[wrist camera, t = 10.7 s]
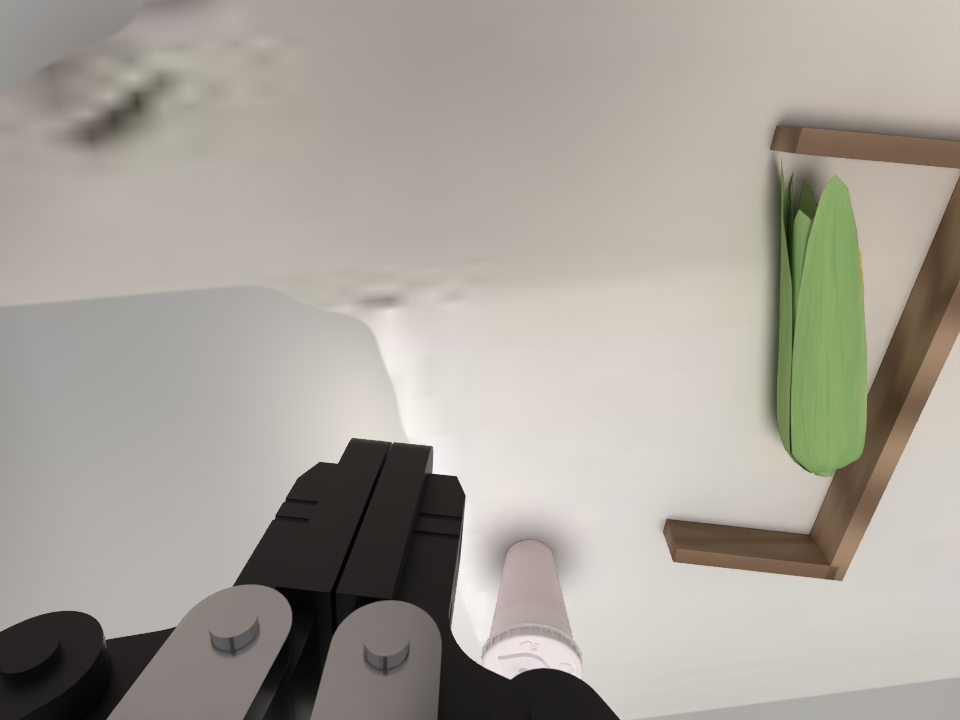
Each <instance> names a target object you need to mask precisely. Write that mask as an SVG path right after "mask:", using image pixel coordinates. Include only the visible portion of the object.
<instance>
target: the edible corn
mask: <svg viewBox="0 0 960 720" xmlns="http://www.w3.org/2000/svg"><path fill="white" fill-rule="evenodd" d="M863 297H864V283H863V271H862V259H861V251H860V249H859V246H858V237H857V229H856V224H855V220H854V215H853V210H852V206H851V201H850V196H849V192H848V188H847V187H846V186H845V184H844V183H843V182H842V181H841V180H840V179H839V178H838V177H837V175H836V174H835V175H834V176H833V178H832V179H831V181H830V182H829V183H828V185H827V186H826V188H825V189H824V191H823V192H822V194H821V197H820V201H819V204H818V208H817V205H816V203H815V201H814V198H813V196H812V194H811V191H810V189H809V186H808V184H807V182H805V181H804V184H803V189H802V194H801V199H800V205H799V210H798V213H797V215H796V217H795V220H794V222H793V176H792V183H791V192H790V234H789V210H788V203H787V196H786V190H785V183H784V176H783V169H782V159H781V273H780V324H779V353H778V375H777V424H778V428H779V432H780V435H781V439H782V443H783V445H784V447H785V450H786V451H787V452H788V454H789V455H790V457H791V458H792V459H793V461H794V462H795V463H797V464H798V465H800V466H801V467H802V468H803V469H805V470H806V471H808V472H810V473H814V474H816V475H818V476H822V477H828V476H833V474H834V472H835V469H840V468H843V467H845V466H847V465H849V464H850V463H852V462H854V461H856V460H857V459H859V458H860V456H861V455H862V452H863V448H864V443H865V434H866V419H867V349H866V332H865V315H864V298H863Z"/></svg>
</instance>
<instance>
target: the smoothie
mask: <svg viewBox="0 0 960 720" xmlns="http://www.w3.org/2000/svg"><path fill="white" fill-rule="evenodd" d="M481 658H482V666H483V667H485V668H486V669H488V670H491V671H493V672H495V673H497V674H499V675H502V676H504V677H506V678H508V679H510V680H511V679H512V678H514V677H515V676H516V675H518V674H520V673H522V672H524V671H528V670H531V669H537V668H552V669H557V670H561V671H565V672H567V673H570V674H572V675H574V676H576V677H578V678H579V679H581V678H582V672H583V671H582V662H583V661H582V653H581V650H580V648H579V647H578V645H577V643H576V642H575V641H574V640H573V636H572V632H571V628H570V624H569V620H568V616H567V612H566V608H565V603H564V599H563V595H562V591H561V587H560V583H559V578H558V574H557V570H556V566H555V562H554V558H553V554H552V552H551V550H550V549H549V547H547V546H546V545H545V544H543V543H541V542H539V541H535V540H523V541H519V542H517V543H515V544H513V545H512V546H511V547H510V548H509V549H508V551H507V554H506V558H505V563H504V568H503V573H502V578H501V583H500V588H499V593H498V598H497V603H496V608H495V613H494V618H493V622H492V626H491V632H490V637H489V639H488V640H487V641H486V643H485V645H484V647H483V649H482V656H481Z"/></svg>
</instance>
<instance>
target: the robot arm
mask: <svg viewBox="0 0 960 720" xmlns="http://www.w3.org/2000/svg"><path fill="white" fill-rule="evenodd" d="M432 468H433V446H425V445H415V444H406V443H396V442H395V443H393V444H392V443H391V442H384V441H376V440H366V439H356V438H352V439H351V440H350V442H349V443H348V446H347V447H346V449H345V451H344V453H343V455H342V457H341V459H340V461H339V463H338V464H334V463H324V462H319V463H318V464H316V465H315V466H314V467H312V468H311V469H310V470H308V471H307V472H305V473H304V474H303V475H302V476H300V477H299V478H298V479H297V480H296V482H295V484H294V485H293V487H292V489H291V490H290V492H289V494H288V496H287V497H286V501H285V502H284V503H283V504H282V505H281V507H280V509H279V510H278V512H277V514H276V517H275V520H272V522H271V524H270V525H269V527H268V529H267V530H266V532H265V534H264V535H263V537H262V539H261V540H260V542H259V544H258V545H257V547H256V549H255V550H254V552H253V554H252V555H251V557H250V559H249V560H248V562H247V563H246V565H245V567H244V569H243V570H242V572H241V574H240V575H239V577H238V578H237V580H236V582H235V584H234V585H233V587H230V588H227V589H224V590H221V591H219V592H216V593H214V594H212V595H210V596H208V597H207V598H205V599H204V600H202V601H201V602H199V603H198V604H197V605H196V606H194V607H193V608H192V609H191V610H190V611H189V612H188V613H187V614H186V616H185V617H184V618H183V619H182V620H181V622H180V623H179V624H178V626H177V627H174V628H170V629H167V630H161V631H156V632H150V633H144V634H138V635H132V636H126V637H120V638H114V639H108V640H105V637H104V633H103V630H102V627H101V625H100V624H99V622H98V621H97V620H96V619H95V618H93V617H92V616H90V615H88V614H85V613H82V612H77V611H59V612H52V613H47V614H43V615H39V616H36V617H33V618H30V619H27V620H25V621H23V622H21V623H18V624H16V625H14V626H11V627H9V628H7V629H5V630H3V631H1V632H0V720H620V719H619V718H618V717H617V716H616V714H615V713H614V712H613V711H612V710H611V709H610V707H609V706H608V705H607V704H606V703H605V702H604V701H603V699H602V698H601V697H600V696H599V695H598V694H597V693H596V692H595V691H594V690H593V689H592V688H591V687H590V686H589V685H588V684H586V683H585V682H584V681H583V680H581V679H579V678H578V677H576V676H574V675H572V674H570V673H567V672H565V671H561V670H557V669H552V668H537V669H531V670H528V671H524V672H522V673H520V674H518V675H516V676H515V677H514V678H512V679H511V680H510V679H508V678H506V677H504V676H502V675H499V674H497V673H495V672H493V671H491V670H488V669H486V668H485V667H483V666H481V665H479V664H477V663H476V662H475V661H473V660H472V659H471V658H469V657H468V656H467V655H466V654H465V653H464V652H463V651H462V649H461V648H460V647H459V645H458V644H457V642H456V640H455V639H454V637H453V635H452V631H451V624H452V616H453V608H454V601H455V594H456V586H457V579H458V572H459V564H460V555H461V544H462V532H463V520H464V508H465V497H466V496H465V493H464V491H463V489H462V487H461V485H460V482H459V480H458V478H457V476H448V475H439V474H432Z"/></svg>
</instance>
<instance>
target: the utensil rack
mask: <svg viewBox="0 0 960 720" xmlns="http://www.w3.org/2000/svg"><path fill="white" fill-rule="evenodd" d="M770 150H776V151H783V152H789V153H796V154H807V155H818V156H829V157H840V158H851V159H862V160H872V161H883V162H894V163H905V164H916V165H927V166H938V167H948V168H959V169H960V142H959V141H948V140H937V139H926V138H915V137H904V136H893V135H882V134H871V133H860V132H849V131H838V130H827V129H816V128H805V127H788V126H777V127H776V131H775V135H774V138H773V142H772V145H771V149H770ZM959 332H960V178H959V181H958V183H957V186H956V188H955V190H954V193H953V195H952V197H951V200H950V202H949V205H948V207H947V209H946V212H945V214H944V217H943V219H942V221H941V224H940V226H939V228H938V231H937V233H936V236H935V238H934V240H933V243H932V245H931V247H930V250H929V252H928V255H927V257H926V259H925V262H924V264H923V267H922V269H921V271H920V274H919V276H918V278H917V281H916V283H915V286H914V288H913V290H912V293H911V295H910V297H909V300H908V302H907V305H906V307H905V309H904V312H903V314H902V317H901V319H900V321H899V324H898V326H897V328H896V331H895V333H894V336H893V338H892V340H891V343H890V345H889V347H888V350H887V352H886V355H885V357H884V359H883V362H882V364H881V367H880V369H879V371H878V374H877V376H876V378H875V381H874V383H873V386H872V388H871V390H870V393H869V395H868V397H867V419H866V434H865V443H864V448H863V452H862V455H861V456H860V458H859V459H857V460H856V461H854V462H852V463H850V464H849V465H847V466H845V467H843V468H840V469H837V471H836V474H835V476H834V478H833V481H832V483H831V486H830V488H829V490H828V493H827V495H826V497H825V500H824V502H823V505H822V507H821V509H820V512H819V514H818V517H817V519H816V521H815V524H814V526H813V528H812V531H811V533H810V535H803V534H794V533H785V532H776V531H767V530H758V529H749V528H740V527H730V526H721V525H712V524H703V523H694V522H685V521H676V520H666V524H665V528H664V531H663V533H664V536H665V539H666V542H667V545H668V548H669V551H670V554H671V557H672V560H673V562H679V563H688V564H696V565H705V566H714V567H723V568H732V569H741V570H750V571H759V572H767V573H776V574H785V575H794V576H803V577H812V578H821V579H829V580H838V581H842V580H843V578H844V576H845V574H846V571H847V569H848V567H849V565H850V563H851V561H852V559H853V557H854V554H855V552H856V550H857V548H858V546H859V544H860V542H861V540H862V538H863V535H864V533H865V531H866V529H867V527H868V525H869V523H870V521H871V518H872V516H873V514H874V512H875V510H876V508H877V506H878V504H879V501H880V499H881V497H882V495H883V493H884V491H885V489H886V487H887V484H888V482H889V480H890V478H891V476H892V474H893V472H894V470H895V468H896V465H897V463H898V461H899V459H900V457H901V455H902V453H903V451H904V448H905V446H906V444H907V442H908V440H909V438H910V436H911V434H912V431H913V429H914V427H915V425H916V423H917V421H918V419H919V417H920V414H921V412H922V410H923V408H924V406H925V404H926V402H927V400H928V397H929V395H930V393H931V391H932V389H933V387H934V385H935V383H936V381H937V378H938V376H939V374H940V372H941V370H942V368H943V366H944V364H945V361H946V359H947V357H948V355H949V353H950V351H951V349H952V347H953V344H954V342H955V340H956V338H957V336H958V334H959Z"/></svg>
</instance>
